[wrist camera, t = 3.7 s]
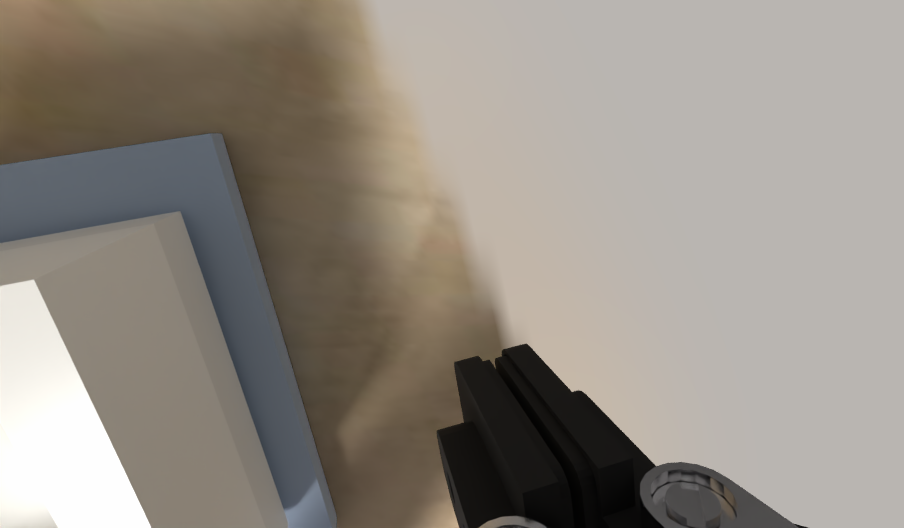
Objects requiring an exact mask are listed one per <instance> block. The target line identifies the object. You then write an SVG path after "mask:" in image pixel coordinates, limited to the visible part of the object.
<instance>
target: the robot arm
mask: <svg viewBox="0 0 904 528" xmlns="http://www.w3.org/2000/svg"><path fill="white" fill-rule="evenodd" d="M495 366H496V369H495V367H494V366H493V364H492V363H491V361H490V360H487V361H483V362H482V360H481V358H480V357H479V356H476V357H472V358H468V359H464V360H461V361H457V362H455V363H454V367H455V373H456V379H457V385H458V390H459V396H460V402H461V407H462V413H463V419H464V423H461V424H458V425H454V426H451V427H447V428H443V429H440V430H437V438H438V444H439V449H440V454H441V459H442V464H443V468H444V473H445V477H446V481H447V485H448V489H449V493H450V497H451V501H452V504H453V508H454V511H455V514H456V518H457V521H458V525H459V528H807V527H804V526H800V525H797V524H793V523H792V522H790V521H789V520H787V519H786V518H784V517H783V516H781V515H780V514H778V513H777V512H776V511H774V510H773V509H772V508H770V507H769V506H767V505H766V504H764V503H763V502H761V501H760V500H759V499H757V498H756V497H754V496H753V495H751V494H750V493H748V492H747V491H746V490H744V489H743V488H741V487H740V486H739V485H737V484H735V483H734V482H733V481H731V480H730V479H728V478H727V477H725V476H723V475H721V474H720V473H718V472H716V471H714V470H712V469H709V468H706V467H703V466H700V465H697V464H690V463H683V462H678V463H666V464H662V465H659V466H655V465H654V464H653V463H652V462H651V461H650V460H649V459H648V457H647V456H646V455H645V454H643V452H642V451H641V450H640V449H639V448H638V447H637V446H636V445H635V444H634V443H633V442H632V441H631V440H630V439H629V438H628V437H627V436H626V435H625V434H624V433H623V432H622V431H621V430H620V429H619V428H618V427H617V426H616V425H615V424H614V423H613V422H612V421H611V420H610V418H609V417H608V416H607V415H606V414H605V413H604V412H602V410H601V409H600V408H599V407H598V406H597V405H596V404H595V403H594V402H593V401H592V400H591V399H590V398H589V397H588V396H587V395H586V394H585V393H583V392H582V391H574V392H571V391H570V389H569V388H568V387H567V386H566V385H565V384H564V383H563V382H562V381H561V380H560V379H559V378H558V376H557V375H556V374H555V373H554V372H553V371H552V370H551V369H550V368H549V367H548V366H547V365H546V364H545V363H544V361H543V360H542V359H541V358H540V357H539V356H538V355H537V354H536V353H535V352H534V351H533V349H532V348H531V347H530V346H529V345H528V344H523V345H519V346H515V347H511V348H507V349H503V350H502V357H498V358H496V359H495Z"/></svg>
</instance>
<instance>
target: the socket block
mask: <svg viewBox="0 0 904 528" xmlns="http://www.w3.org/2000/svg"><path fill="white" fill-rule="evenodd" d="M0 528H288V521H287V518H286V515H285V512H284V509H283V506H282V503H281V500H280V497H279V495H278V492H277V489H276V486H275V483H274V480H273V477H272V474H271V471H270V469H269V466H268V463H267V460H266V457H265V454H264V451H263V448H262V445H261V443H260V440H259V437H258V434H257V431H256V428H255V425H254V422H253V419H252V417H251V414H250V411H249V408H248V405H247V402H246V399H245V396H244V393H243V391H242V388H241V385H240V382H239V379H238V376H237V373H236V370H235V367H234V365H233V362H232V359H231V356H230V353H229V350H228V347H227V344H226V341H225V339H224V336H223V333H222V330H221V327H220V324H219V321H218V318H217V316H216V313H215V310H214V307H213V304H212V301H211V298H210V295H209V292H208V290H207V287H206V284H205V281H204V278H203V275H202V272H201V269H200V266H199V264H198V261H197V258H196V255H195V252H194V249H193V246H192V243H191V240H190V238H189V235H188V232H187V229H186V226H185V223H184V220H183V217H182V214H181V212H180V211H177V212H172V213H166V214H160V215H155V216H149V217H144V218H138V219H132V220H127V221H121V222H116V223H110V224H104V225H99V226H93V227H88V228H82V229H76V230H71V231H65V232H60V233H54V234H48V235H43V236H37V237H32V238H26V239H20V240H15V241H9V242H4V243H0Z"/></svg>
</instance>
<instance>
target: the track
mask: <svg viewBox="0 0 904 528" xmlns="http://www.w3.org/2000/svg"><path fill="white" fill-rule="evenodd" d="M177 211H180V212H181V214H182V217H183V220H184V223H185V226H186V229H187V232H188V235H189V238H190V240H191V243H192V246H193V249H194V252H195V255H196V258H197V261H198V264H199V266H200V269H201V272H202V275H203V278H204V281H205V284H206V287H207V290H208V292H209V295H210V298H211V301H212V304H213V307H214V310H215V313H216V316H217V318H218V321H219V324H220V327H221V330H222V333H223V336H224V339H225V341H226V344H227V347H228V350H229V353H230V356H231V359H232V362H233V365H234V367H235V370H236V373H237V376H238V379H239V382H240V385H241V388H242V391H243V393H244V396H245V399H246V402H247V405H248V408H249V411H250V414H251V417H252V419H253V422H254V425H255V428H256V431H257V434H258V437H259V440H260V443H261V445H262V448H263V451H264V454H265V457H266V460H267V463H268V466H269V469H270V471H271V474H272V477H273V480H274V483H275V486H276V489H277V492H278V495H279V497H280V500H281V503H282V506H283V509H284V512H285V515H286V518H287V521H288V528H337V515H336V512H335V508H334V505H333V502H332V498H331V495H330V492H329V488H328V485H327V482H326V478H325V475H324V472H323V468H322V465H321V462H320V459H319V455H318V452H317V449H316V445H315V442H314V439H313V435H312V432H311V429H310V425H309V422H308V419H307V415H306V412H305V409H304V405H303V402H302V399H301V395H300V392H299V389H298V385H297V382H296V379H295V375H294V372H293V369H292V365H291V362H290V359H289V355H288V352H287V349H286V345H285V342H284V339H283V335H282V332H281V329H280V325H279V322H278V319H277V315H276V312H275V309H274V305H273V302H272V299H271V295H270V292H269V289H268V285H267V282H266V279H265V275H264V272H263V269H262V265H261V262H260V259H259V255H258V252H257V249H256V245H255V242H254V239H253V236H252V232H251V229H250V226H249V222H248V219H247V216H246V212H245V209H244V206H243V202H242V199H241V196H240V192H239V189H238V186H237V182H236V179H235V176H234V172H233V169H232V166H231V162H230V159H229V156H228V152H227V149H226V146H225V142H224V139H223V136H222V134H221V133H209V134H202V135H196V136H189V137H182V138H176V139H169V140H162V141H156V142H149V143H143V144H136V145H129V146H123V147H116V148H109V149H103V150H96V151H90V152H83V153H76V154H70V155H63V156H56V157H50V158H43V159H37V160H30V161H23V162H17V163H10V164H3V165H0V243H4V242H9V241H15V240H20V239H26V238H32V237H37V236H43V235H48V234H54V233H60V232H65V231H71V230H76V229H82V228H88V227H93V226H99V225H104V224H110V223H116V222H121V221H127V220H132V219H138V218H144V217H149V216H155V215H160V214H166V213H172V212H177Z"/></svg>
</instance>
